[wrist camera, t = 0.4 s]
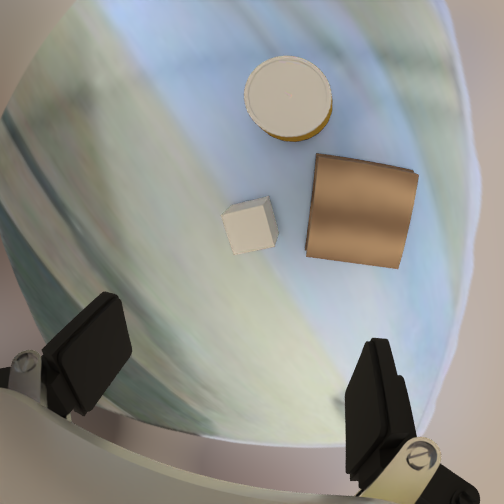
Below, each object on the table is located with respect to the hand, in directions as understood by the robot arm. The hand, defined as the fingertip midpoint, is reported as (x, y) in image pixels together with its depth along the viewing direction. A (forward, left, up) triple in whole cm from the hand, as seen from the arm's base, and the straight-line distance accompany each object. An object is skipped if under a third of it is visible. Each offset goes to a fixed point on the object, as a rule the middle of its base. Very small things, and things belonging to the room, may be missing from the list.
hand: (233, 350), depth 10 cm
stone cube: (+4, -4, -28) cm, 29 cm away
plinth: (+1, +9, -28) cm, 29 cm away
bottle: (-10, 0, -28) cm, 30 cm away
